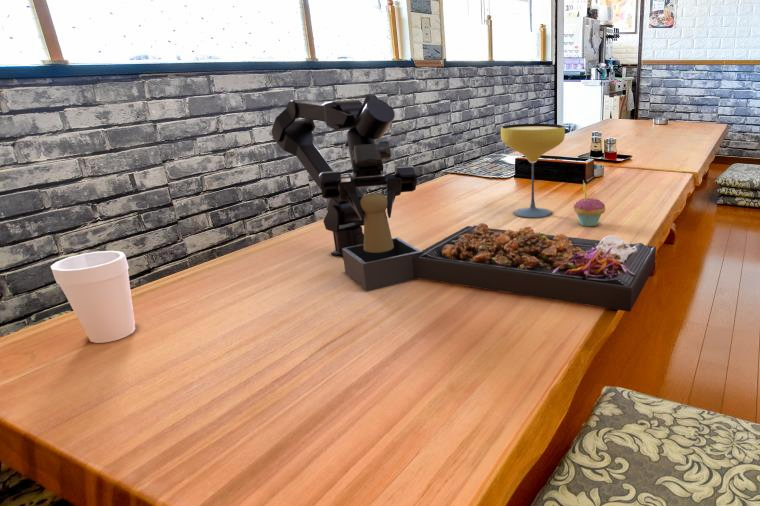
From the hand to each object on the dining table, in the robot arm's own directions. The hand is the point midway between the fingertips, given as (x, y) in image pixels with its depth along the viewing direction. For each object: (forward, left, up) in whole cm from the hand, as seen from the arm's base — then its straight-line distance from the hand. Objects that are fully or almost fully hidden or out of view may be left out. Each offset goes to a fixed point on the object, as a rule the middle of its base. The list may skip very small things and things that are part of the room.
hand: (376, 218), depth 104 cm
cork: (-1, +1, -7) cm, 7 cm away
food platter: (+27, +16, -13) cm, 34 cm away
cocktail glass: (+7, +62, -13) cm, 64 cm away
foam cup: (-27, -37, -13) cm, 48 cm away
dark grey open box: (-2, +3, -13) cm, 14 cm away
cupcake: (+26, +57, -13) cm, 64 cm away
